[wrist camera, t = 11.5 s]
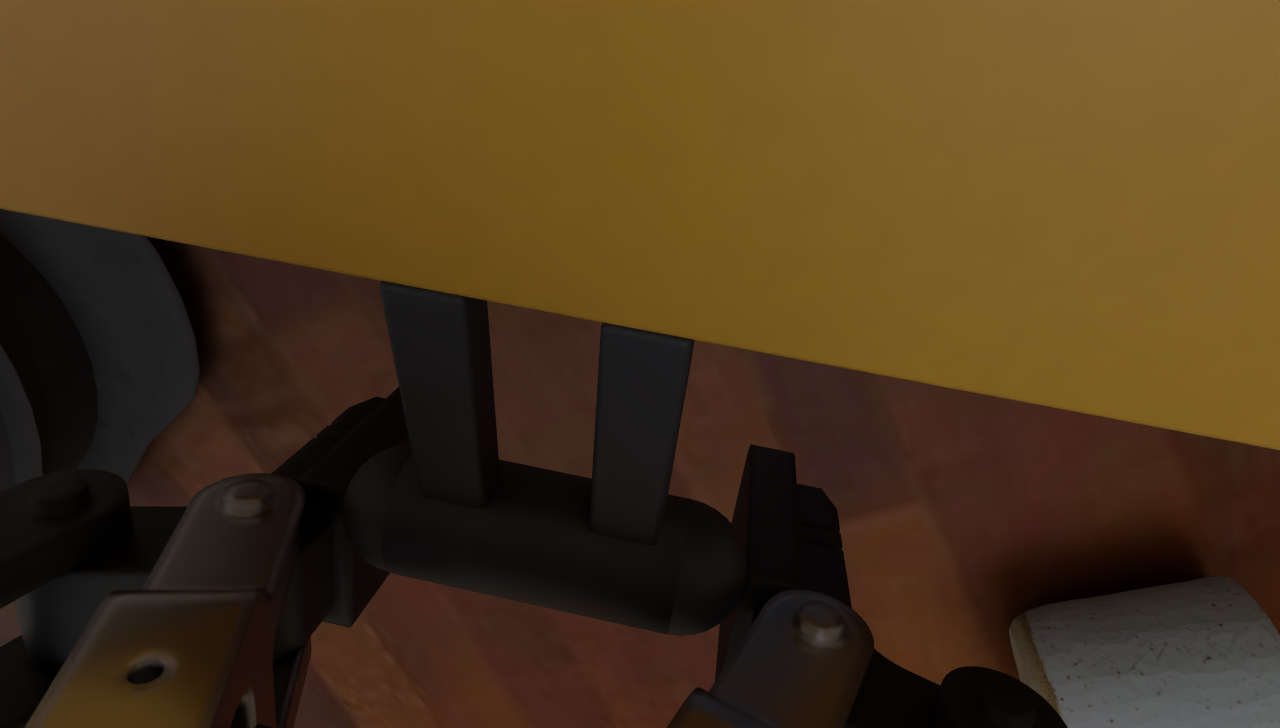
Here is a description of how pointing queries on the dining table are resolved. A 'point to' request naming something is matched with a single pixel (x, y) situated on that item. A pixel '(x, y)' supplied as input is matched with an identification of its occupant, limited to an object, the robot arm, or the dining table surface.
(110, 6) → the yellow drawer
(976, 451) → the dining table surface
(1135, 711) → the ceramic mug
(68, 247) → the casserole
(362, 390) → the dining table surface
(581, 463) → the dining table surface
